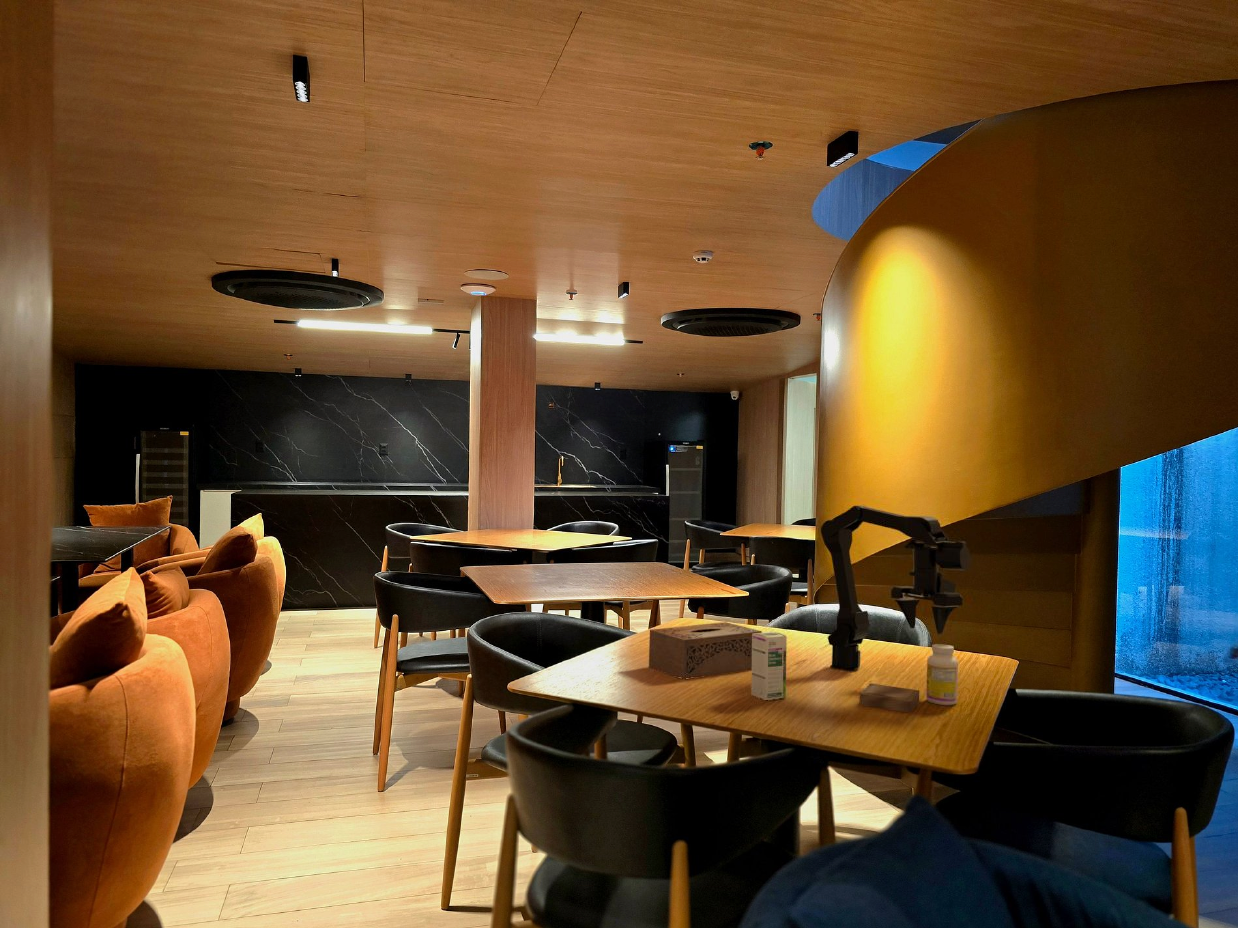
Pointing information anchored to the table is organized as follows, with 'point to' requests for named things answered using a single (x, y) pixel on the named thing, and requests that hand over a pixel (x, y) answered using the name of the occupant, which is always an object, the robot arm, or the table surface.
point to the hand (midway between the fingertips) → (925, 630)
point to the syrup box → (769, 665)
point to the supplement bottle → (942, 675)
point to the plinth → (889, 697)
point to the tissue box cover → (701, 649)
